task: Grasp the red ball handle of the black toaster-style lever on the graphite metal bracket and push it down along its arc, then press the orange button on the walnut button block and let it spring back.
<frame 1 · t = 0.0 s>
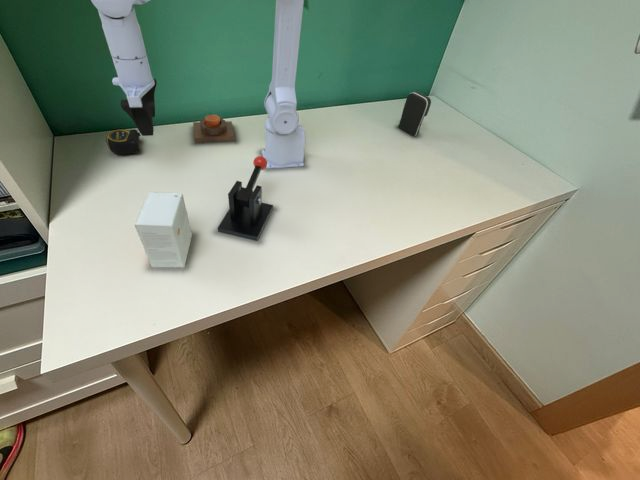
hand: (148, 125, 68), 10 cm above the table, tool pointing down, fingers open, 7 cm apart
lever bracket: (246, 220, 67), on the table
button block: (214, 135, 87), on the table
small box: (173, 251, 59), on the table
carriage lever: (253, 179, 65), point 7 cm above the table, hinge at 15.0°
battery charger: (408, 131, 103), on the table
cancel button: (212, 121, 84), point 4 cm above the table, slide at 0.1 cm
tape measure: (129, 149, 79), on the table
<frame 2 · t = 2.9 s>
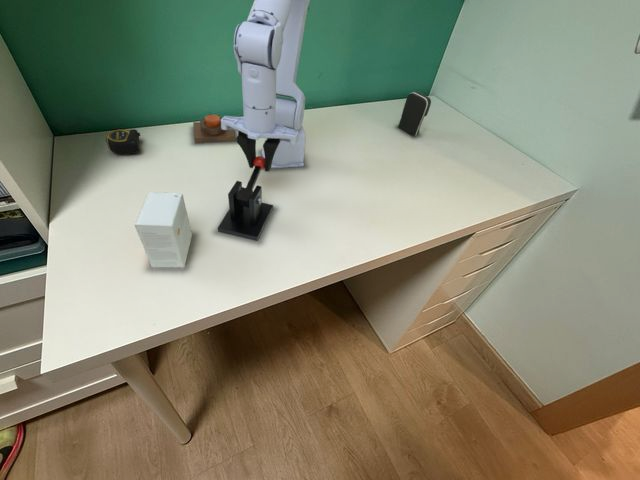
hand: (260, 167, 68), 7 cm above the table, tool pointing down, fingers closed on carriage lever, 3 cm apart
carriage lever: (253, 179, 65), point 7 cm above the table, hinge at 15.0°, touching gripper
everything else where it was.
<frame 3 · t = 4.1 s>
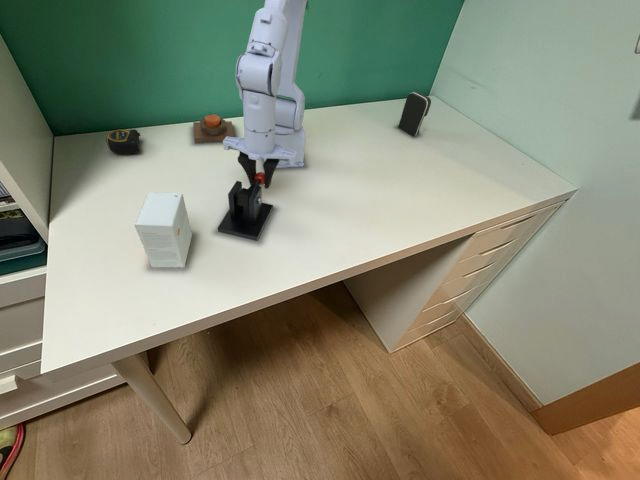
hand: (260, 184, 71), 3 cm above the table, tool pointing down, fingers closed on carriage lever, 3 cm apart
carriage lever: (253, 187, 66), point 5 cm above the table, hinge at -10.9°, touching gripper
everything else where it was.
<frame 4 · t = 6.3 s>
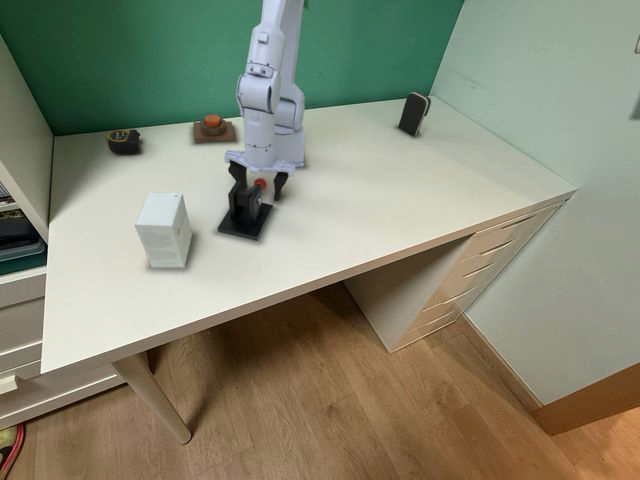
hand: (260, 195, 73), 0 cm above the table, tool pointing down, fingers open, 7 cm apart
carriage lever: (253, 190, 67), point 5 cm above the table, hinge at -19.2°
everything else where it was.
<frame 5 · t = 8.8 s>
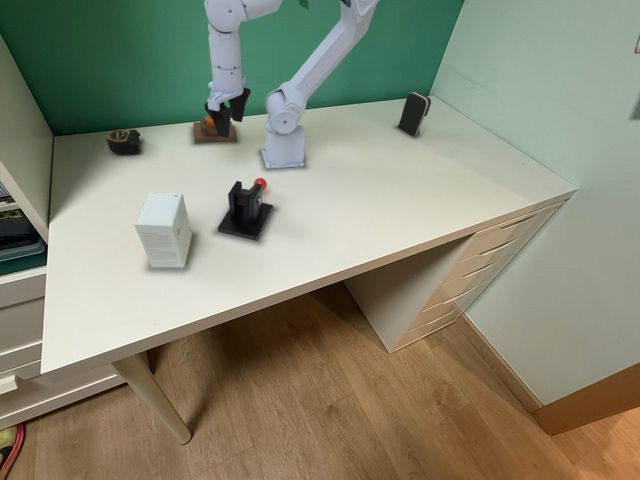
hand: (230, 128, 74), 9 cm above the table, tool pointing down, fingers open, 7 cm apart
nothing on the table moved.
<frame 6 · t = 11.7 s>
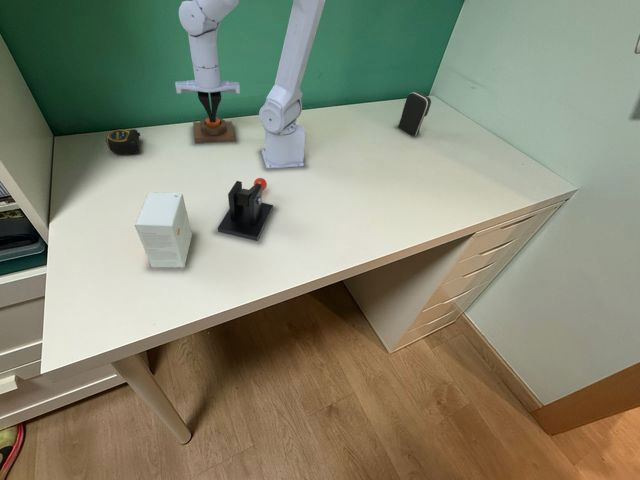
hand: (212, 120, 84), 4 cm above the table, tool pointing down, fingers closed, pressing on cancel button
cancel button: (213, 123, 85), point 3 cm above the table, slide at -0.5 cm, touching gripper
everything else where it was.
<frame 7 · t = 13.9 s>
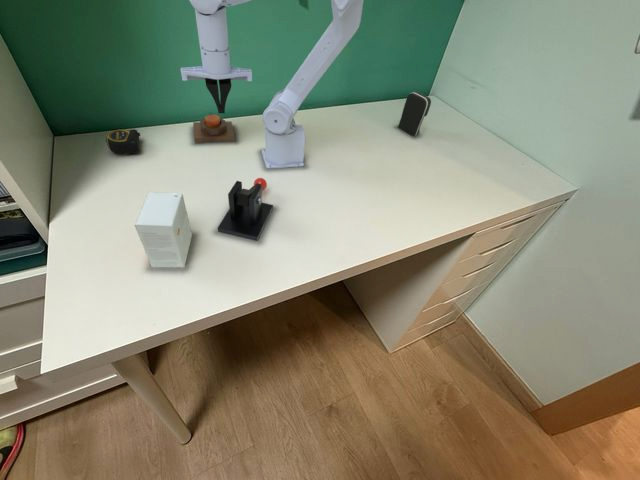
hand: (221, 111, 77), 10 cm above the table, tool pointing down, fingers closed
cancel button: (212, 121, 84), point 4 cm above the table, slide at 0.1 cm
everything else where it was.
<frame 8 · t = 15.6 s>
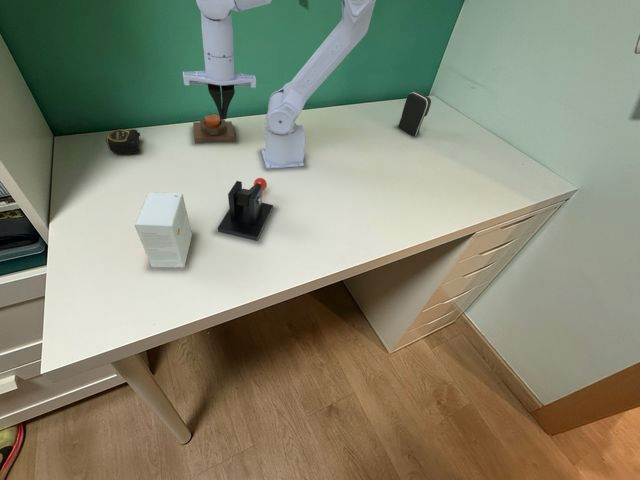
hand: (222, 117, 75), 10 cm above the table, tool pointing down, fingers closed
nothing on the table moved.
at the end: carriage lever at -19° (first picture: +15°); cancel button pushed in 1.2 cm at the most during the clip, back to where it started at the end; cancel button slide at 0.1 cm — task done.
